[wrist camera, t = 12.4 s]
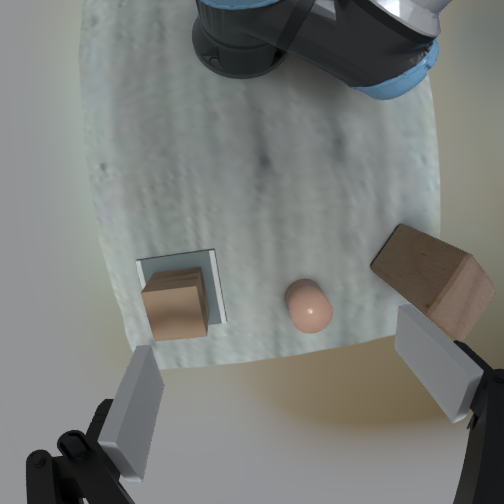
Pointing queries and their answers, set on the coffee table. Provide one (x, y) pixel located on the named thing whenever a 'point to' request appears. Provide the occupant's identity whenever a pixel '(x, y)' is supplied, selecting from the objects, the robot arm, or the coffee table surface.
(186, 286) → the cube
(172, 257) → the mat
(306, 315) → the pink cylinder
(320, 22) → the robot arm
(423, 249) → the wooden block
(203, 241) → the coffee table surface
